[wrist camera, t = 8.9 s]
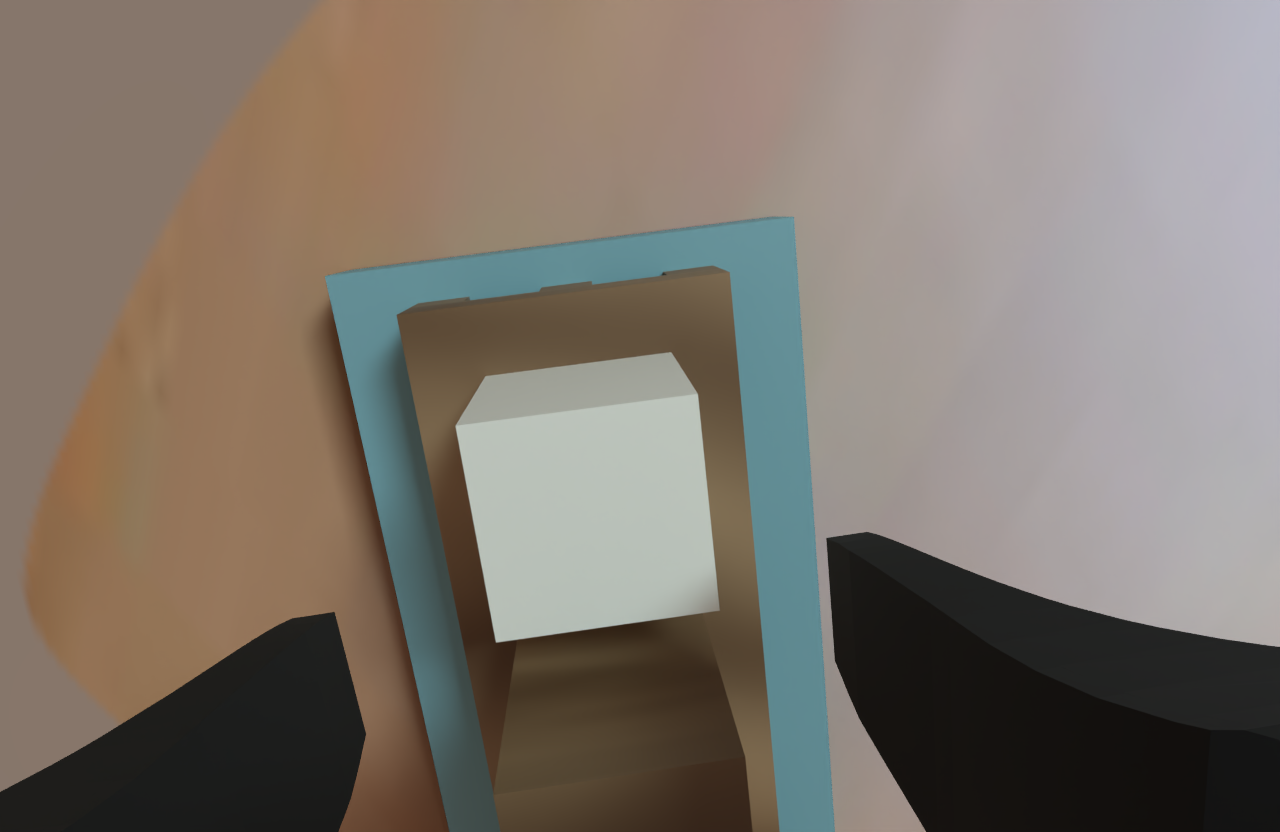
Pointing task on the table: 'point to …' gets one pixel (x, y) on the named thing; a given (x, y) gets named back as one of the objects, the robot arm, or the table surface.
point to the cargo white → (589, 496)
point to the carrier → (623, 654)
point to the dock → (773, 464)
